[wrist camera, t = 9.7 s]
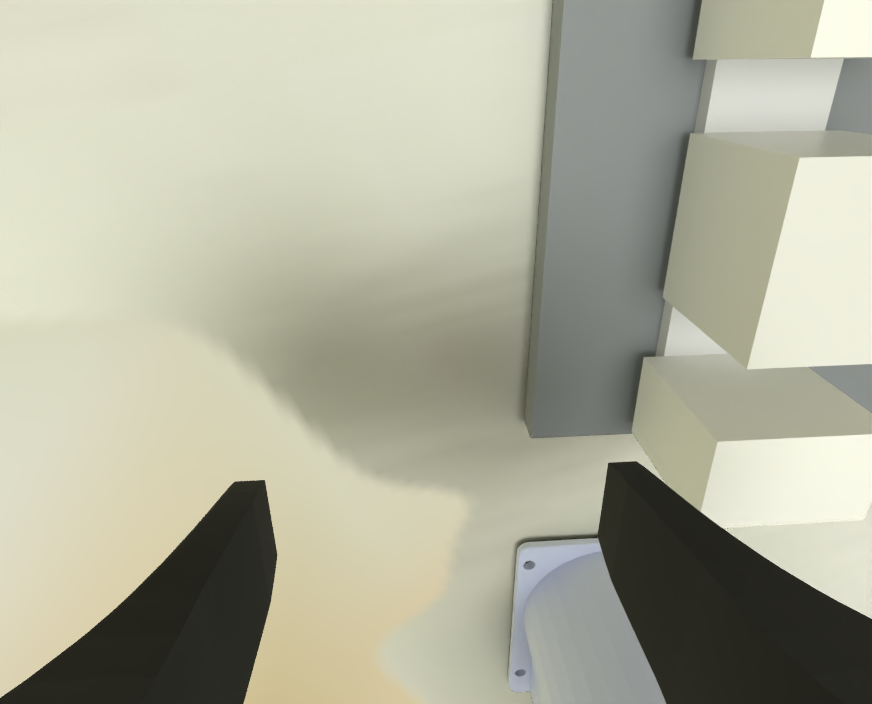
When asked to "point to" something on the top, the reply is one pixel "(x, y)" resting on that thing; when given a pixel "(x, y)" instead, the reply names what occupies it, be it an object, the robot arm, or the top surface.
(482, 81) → the top surface
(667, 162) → the rail panel
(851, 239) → the block
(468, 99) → the top surface
